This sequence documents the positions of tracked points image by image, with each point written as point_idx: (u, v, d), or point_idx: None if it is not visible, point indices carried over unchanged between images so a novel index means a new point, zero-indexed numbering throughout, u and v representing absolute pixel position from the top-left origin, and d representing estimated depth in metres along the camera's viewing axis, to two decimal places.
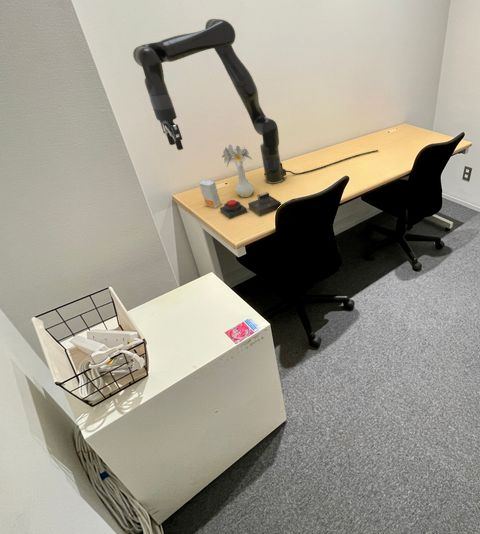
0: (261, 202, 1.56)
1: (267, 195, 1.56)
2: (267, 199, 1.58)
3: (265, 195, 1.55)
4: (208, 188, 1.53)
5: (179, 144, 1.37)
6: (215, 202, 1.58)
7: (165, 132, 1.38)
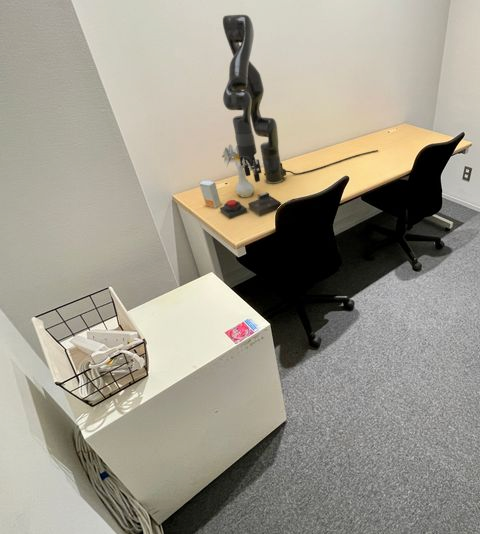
0: (261, 202, 1.56)
1: (267, 195, 1.56)
2: (267, 199, 1.58)
3: (265, 195, 1.55)
4: (208, 188, 1.53)
5: (257, 177, 1.46)
6: (215, 202, 1.58)
7: (244, 165, 1.47)
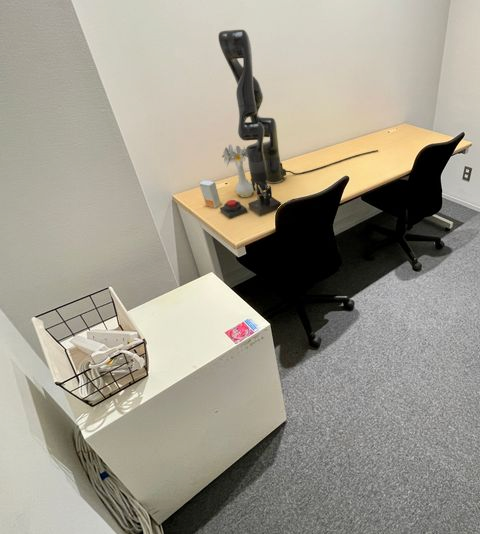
0: (261, 202, 1.56)
1: None
2: None
3: None
4: (208, 188, 1.53)
5: (268, 201, 1.54)
6: (215, 202, 1.58)
7: (256, 190, 1.55)
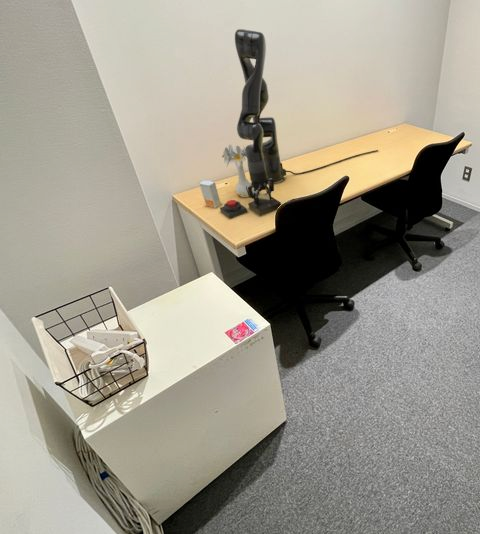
0: (260, 201, 1.56)
1: (267, 196, 1.55)
2: (267, 200, 1.57)
3: (264, 196, 1.55)
4: (208, 188, 1.53)
5: (254, 201, 1.54)
6: (215, 202, 1.58)
7: None
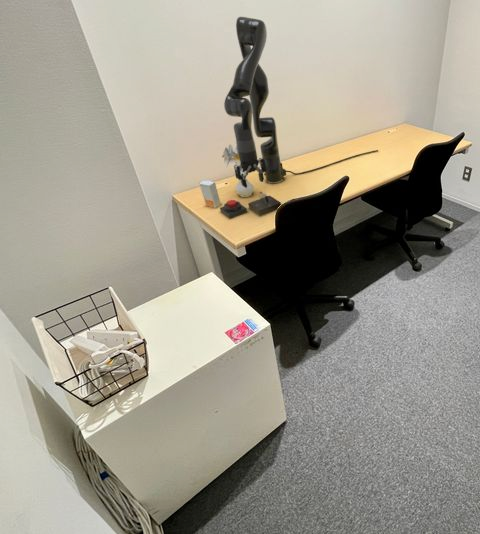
0: (260, 199, 1.58)
1: (263, 197, 1.54)
2: (264, 201, 1.56)
3: (262, 196, 1.55)
4: (208, 188, 1.53)
5: (242, 182, 1.46)
6: (215, 202, 1.58)
7: (255, 169, 1.49)
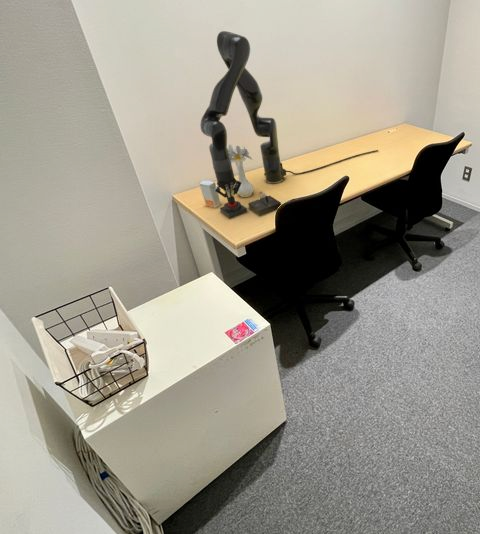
0: (260, 199, 1.58)
1: (263, 197, 1.54)
2: (264, 201, 1.56)
3: (262, 196, 1.55)
4: (208, 188, 1.53)
5: (227, 199, 1.51)
6: (215, 202, 1.58)
7: None
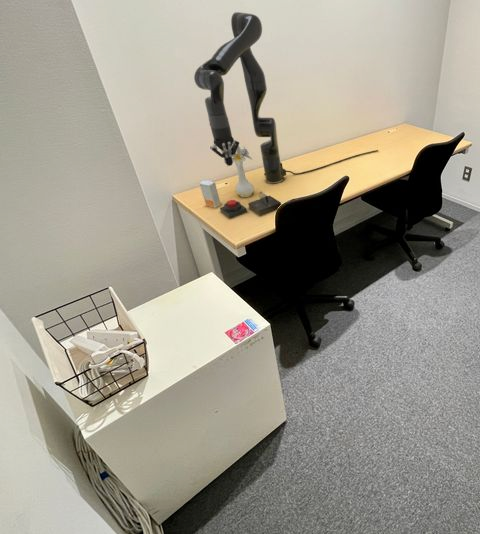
0: (260, 199, 1.58)
1: (263, 197, 1.54)
2: (264, 201, 1.56)
3: (262, 196, 1.55)
4: (208, 188, 1.53)
5: (225, 160, 1.45)
6: (215, 202, 1.58)
7: None
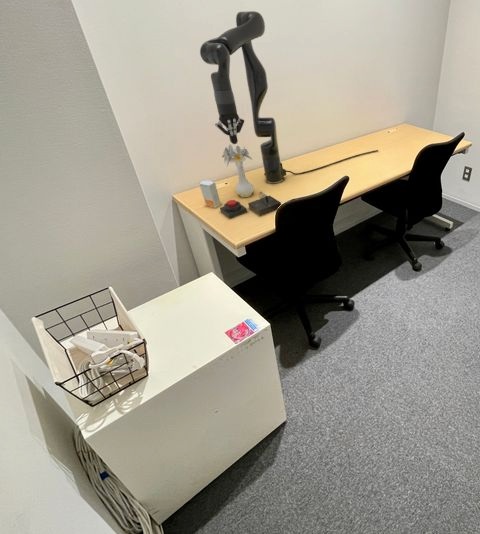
0: (260, 199, 1.58)
1: (263, 197, 1.54)
2: (264, 201, 1.56)
3: (262, 196, 1.55)
4: (208, 188, 1.53)
5: (230, 138, 1.44)
6: (215, 202, 1.58)
7: None
